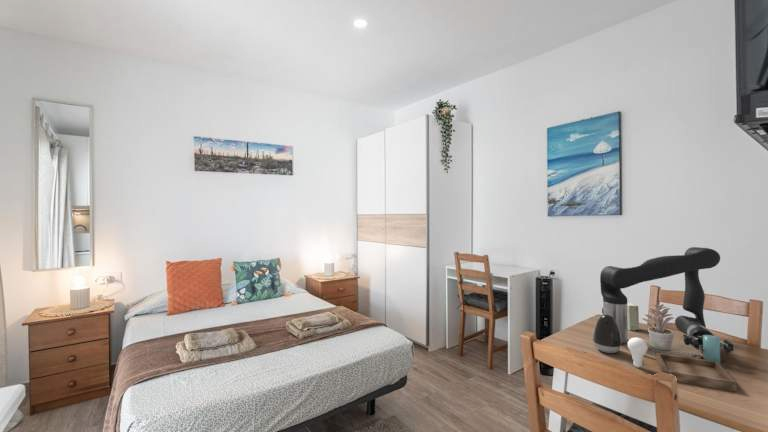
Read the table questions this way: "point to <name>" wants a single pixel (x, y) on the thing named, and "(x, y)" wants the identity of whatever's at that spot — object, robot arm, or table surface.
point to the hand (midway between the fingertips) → (712, 348)
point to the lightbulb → (637, 350)
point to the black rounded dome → (607, 335)
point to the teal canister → (711, 348)
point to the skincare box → (633, 316)
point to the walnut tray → (696, 371)
